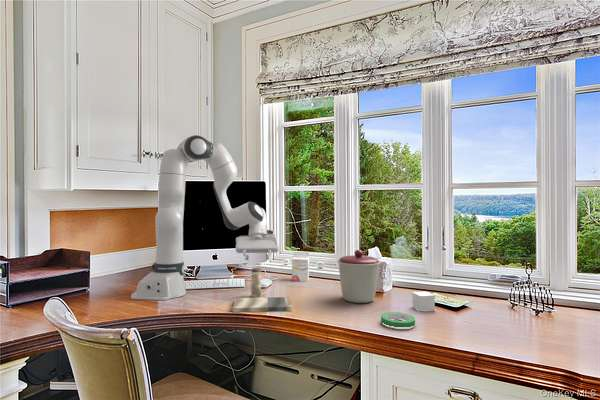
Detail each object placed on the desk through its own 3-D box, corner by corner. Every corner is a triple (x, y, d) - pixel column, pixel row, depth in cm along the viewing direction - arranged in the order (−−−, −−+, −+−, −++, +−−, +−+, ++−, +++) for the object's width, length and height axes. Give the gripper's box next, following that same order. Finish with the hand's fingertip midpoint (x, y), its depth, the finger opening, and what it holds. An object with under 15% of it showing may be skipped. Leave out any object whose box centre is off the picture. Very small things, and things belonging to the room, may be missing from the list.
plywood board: (232, 312, 135) (232, 308, 135) (235, 301, 149) (235, 297, 149) (291, 310, 137) (291, 306, 137) (289, 300, 151) (289, 297, 151)
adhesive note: (420, 312, 136) (420, 296, 136) (412, 307, 142) (412, 292, 142) (434, 311, 138) (434, 295, 138) (426, 306, 144) (426, 291, 144)
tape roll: (421, 328, 119) (421, 320, 119) (392, 332, 116) (392, 323, 116) (402, 318, 130) (403, 310, 130) (375, 321, 126) (375, 313, 126)
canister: (362, 292, 164) (362, 246, 164) (389, 302, 148) (390, 251, 148) (328, 297, 156) (328, 248, 156) (353, 308, 140) (354, 254, 140)
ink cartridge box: (291, 281, 187) (291, 252, 187) (292, 279, 192) (293, 251, 192) (308, 281, 186) (308, 253, 186) (309, 279, 191) (309, 251, 191)
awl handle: (251, 298, 154) (251, 269, 154) (251, 295, 158) (251, 268, 158) (260, 298, 154) (260, 269, 154) (260, 295, 158) (261, 268, 158)
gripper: (235, 231, 173) (233, 255, 163) (278, 231, 175) (279, 254, 165) (236, 239, 177) (234, 263, 168) (278, 239, 179) (278, 262, 169)
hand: (257, 259), depth 166 cm, fingers open, 8 cm apart
